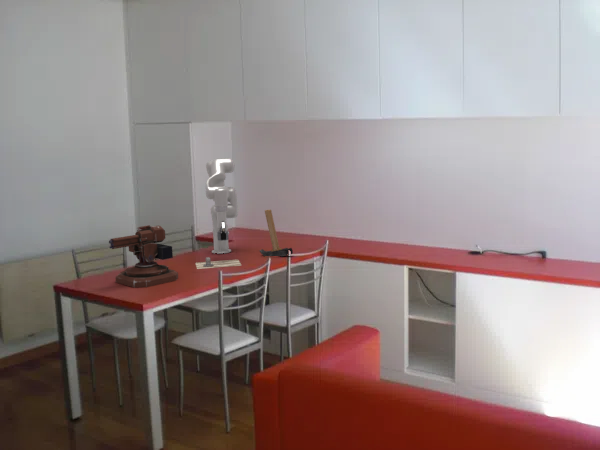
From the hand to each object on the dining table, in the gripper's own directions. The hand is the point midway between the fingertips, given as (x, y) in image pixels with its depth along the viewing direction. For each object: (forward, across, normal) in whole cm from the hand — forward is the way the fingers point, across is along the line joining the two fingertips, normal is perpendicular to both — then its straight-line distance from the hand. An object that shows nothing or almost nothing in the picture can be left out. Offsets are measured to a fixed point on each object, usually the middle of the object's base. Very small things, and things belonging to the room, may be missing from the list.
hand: (222, 238), depth 419 cm
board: (+16, +5, -4) cm, 17 cm away
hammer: (+16, -12, +34) cm, 40 cm away
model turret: (+15, +30, -48) cm, 59 cm away
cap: (+1, 0, 0) cm, 1 cm away
